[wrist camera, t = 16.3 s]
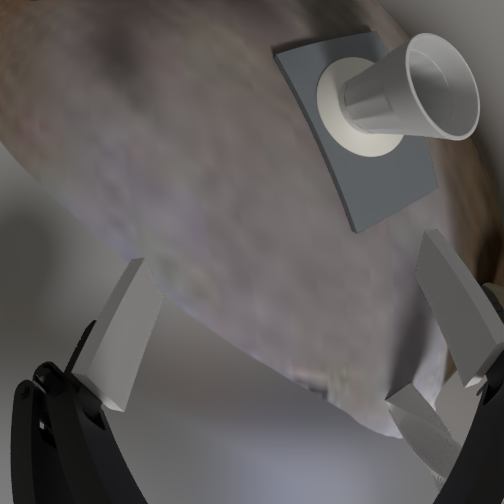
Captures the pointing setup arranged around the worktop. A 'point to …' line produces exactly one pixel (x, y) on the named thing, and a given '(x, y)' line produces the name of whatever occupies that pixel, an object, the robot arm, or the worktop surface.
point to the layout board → (350, 140)
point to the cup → (414, 92)
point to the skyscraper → (424, 432)
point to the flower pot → (496, 292)
